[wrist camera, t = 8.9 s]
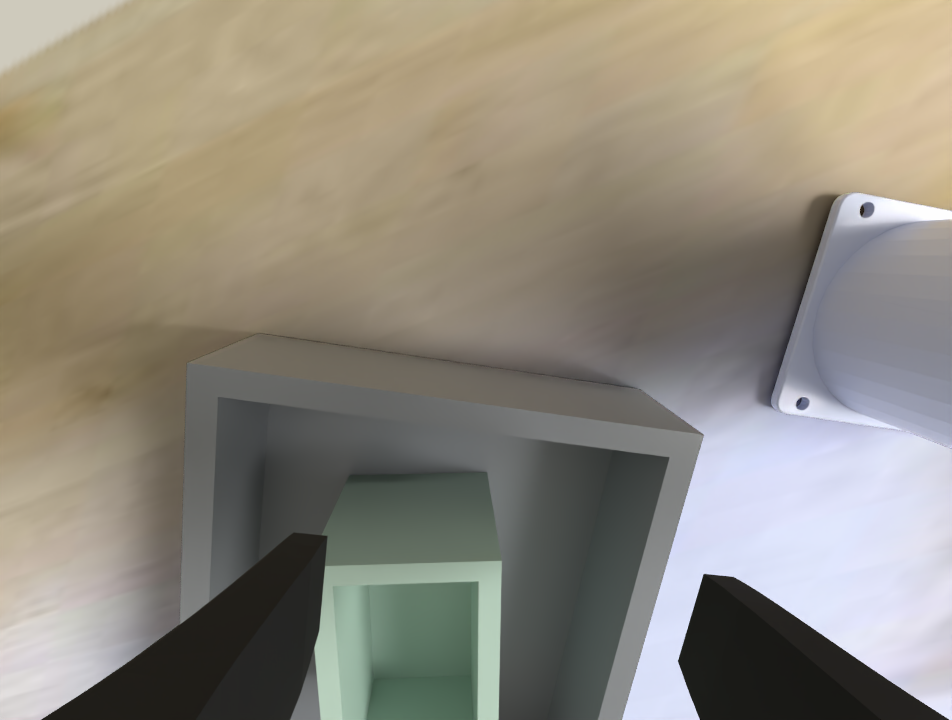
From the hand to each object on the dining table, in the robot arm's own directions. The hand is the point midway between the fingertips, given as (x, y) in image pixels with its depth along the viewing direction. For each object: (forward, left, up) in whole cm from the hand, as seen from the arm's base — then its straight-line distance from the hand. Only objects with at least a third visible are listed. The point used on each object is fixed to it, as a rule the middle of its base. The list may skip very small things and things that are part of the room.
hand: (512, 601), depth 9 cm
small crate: (+1, +6, -8) cm, 10 cm away
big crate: (+1, +7, -9) cm, 11 cm away
